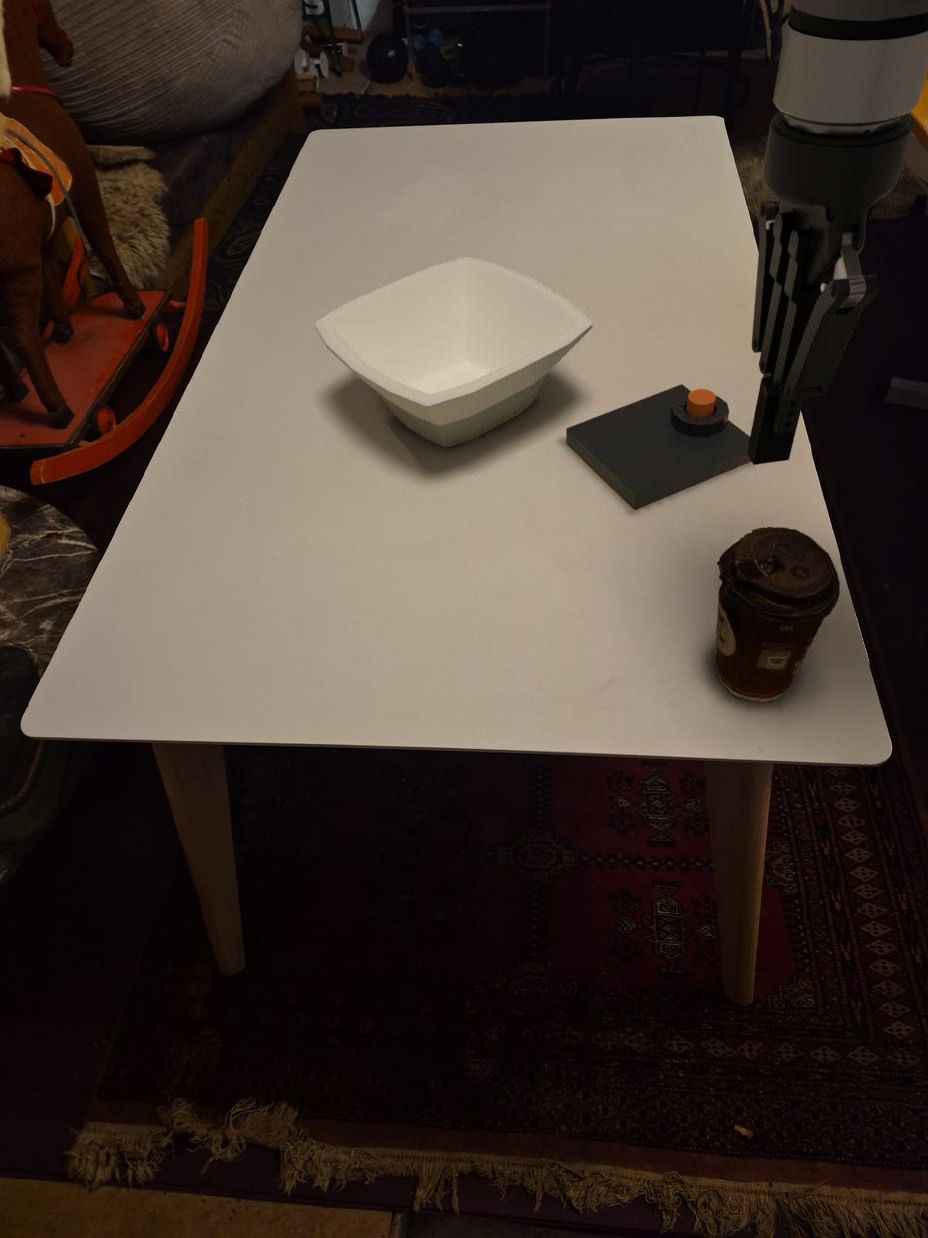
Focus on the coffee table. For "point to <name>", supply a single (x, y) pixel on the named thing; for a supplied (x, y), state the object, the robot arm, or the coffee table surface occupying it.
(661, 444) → the scale
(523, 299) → the bowl
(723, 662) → the coffee cup
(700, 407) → the button
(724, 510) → the coffee table surface
